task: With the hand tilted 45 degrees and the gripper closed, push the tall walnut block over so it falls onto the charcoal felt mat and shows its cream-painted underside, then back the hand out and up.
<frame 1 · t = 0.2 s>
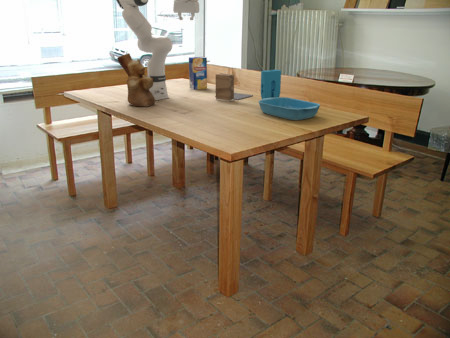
hand: (186, 20, 304), 48 cm above the table, tool pointing down, fingers open, 8 cm apart
casserole dish: (288, 115, 248), on the table
block: (270, 104, 275), on the table
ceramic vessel: (137, 104, 274), on the table
felt mat: (234, 96, 299), on the table
walnut block: (224, 99, 288), on the table
cracker box: (198, 88, 329), on the table
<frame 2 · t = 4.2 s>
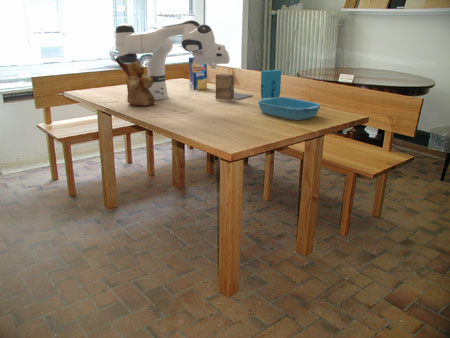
hand: (213, 67, 262), 22 cm above the table, tool tilted 40°, fingers closed
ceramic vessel: (137, 104, 274), on the table, touching arm
everything else where it was.
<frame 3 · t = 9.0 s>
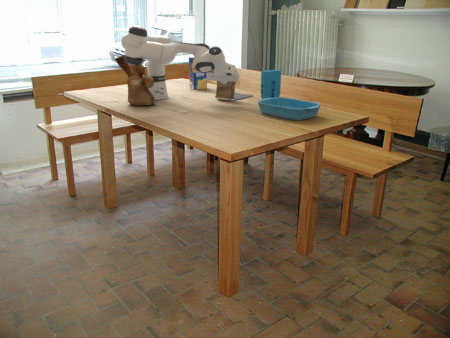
hand: (224, 84, 281), 11 cm above the table, tool tilted 40°, fingers closed
walnut block: (224, 99, 287), on the table, tilted 7°
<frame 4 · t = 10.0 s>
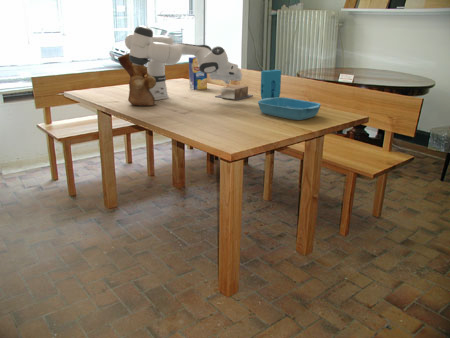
hand: (227, 82, 286), 10 cm above the table, tool tilted 45°, fingers closed
walnut block: (227, 93, 289), point 4 cm above the table, tilted 90°, touching felt mat
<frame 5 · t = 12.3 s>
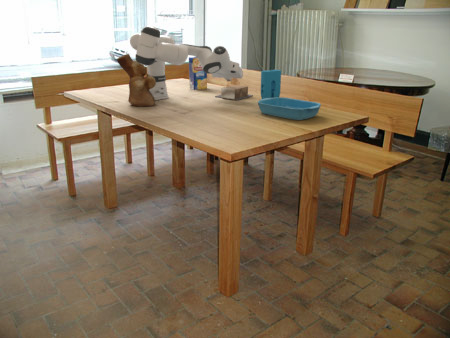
hand: (229, 80, 293), 11 cm above the table, tool tilted 45°, fingers closed
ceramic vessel: (138, 105, 273), on the table
everything else where it was.
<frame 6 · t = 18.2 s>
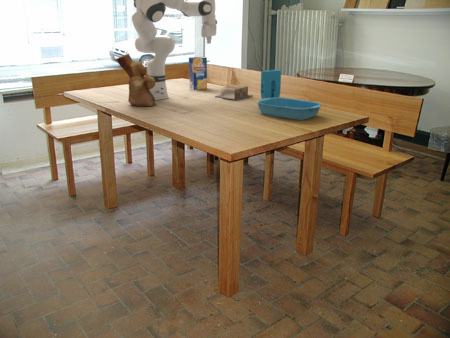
hand: (208, 43, 298), 33 cm above the table, tool pointing down, fingers closed
at the end: walnut block tilted 90°; walnut block touching felt mat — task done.
